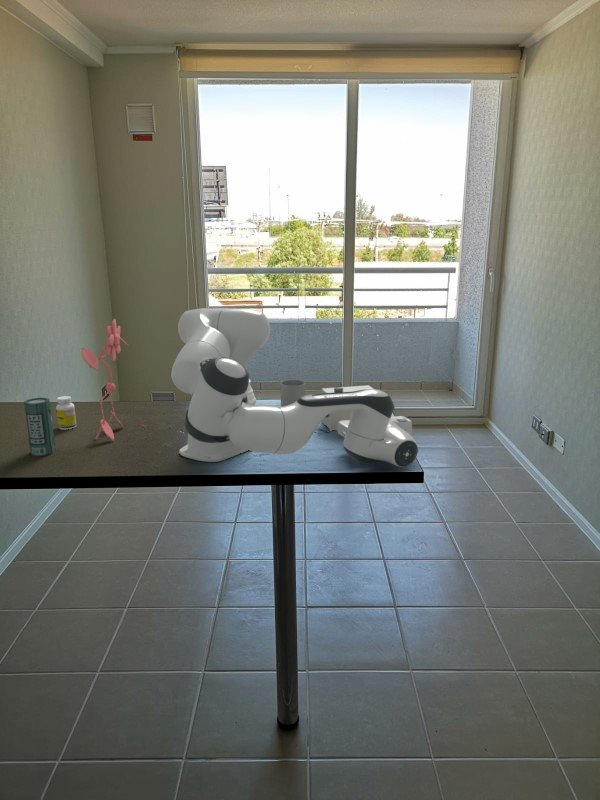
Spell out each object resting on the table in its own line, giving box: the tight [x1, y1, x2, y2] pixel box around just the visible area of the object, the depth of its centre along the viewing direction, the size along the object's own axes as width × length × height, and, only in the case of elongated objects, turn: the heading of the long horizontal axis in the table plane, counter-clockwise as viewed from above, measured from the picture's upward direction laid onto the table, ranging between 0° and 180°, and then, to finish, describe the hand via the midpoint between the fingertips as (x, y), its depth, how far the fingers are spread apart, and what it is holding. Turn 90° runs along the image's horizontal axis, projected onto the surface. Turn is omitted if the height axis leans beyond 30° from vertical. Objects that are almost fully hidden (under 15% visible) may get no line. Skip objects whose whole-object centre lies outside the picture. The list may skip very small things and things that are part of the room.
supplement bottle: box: [55, 395, 77, 431], centre depth 185 cm, size 5×5×10 cm
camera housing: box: [321, 385, 374, 431], centre depth 188 cm, size 10×19×12 cm, turn 105°
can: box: [23, 397, 56, 457], centre depth 164 cm, size 6×6×15 cm
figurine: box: [81, 318, 149, 446], centre depth 176 cm, size 15×26×35 cm, turn 179°
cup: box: [280, 379, 306, 407], centre depth 203 cm, size 8×8×10 cm
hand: (364, 418), depth 174 cm, fingers closed on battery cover, 5 cm apart
